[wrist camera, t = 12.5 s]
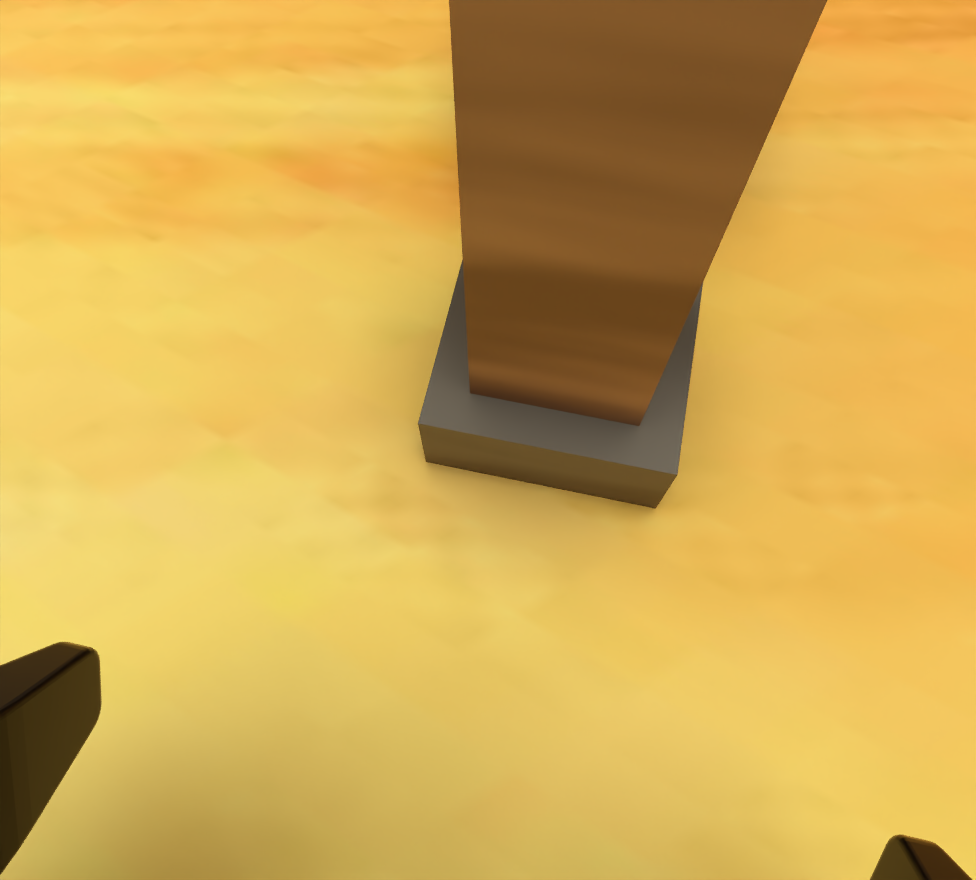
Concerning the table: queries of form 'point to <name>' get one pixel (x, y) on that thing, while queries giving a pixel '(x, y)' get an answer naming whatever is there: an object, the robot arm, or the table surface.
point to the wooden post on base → (594, 225)
